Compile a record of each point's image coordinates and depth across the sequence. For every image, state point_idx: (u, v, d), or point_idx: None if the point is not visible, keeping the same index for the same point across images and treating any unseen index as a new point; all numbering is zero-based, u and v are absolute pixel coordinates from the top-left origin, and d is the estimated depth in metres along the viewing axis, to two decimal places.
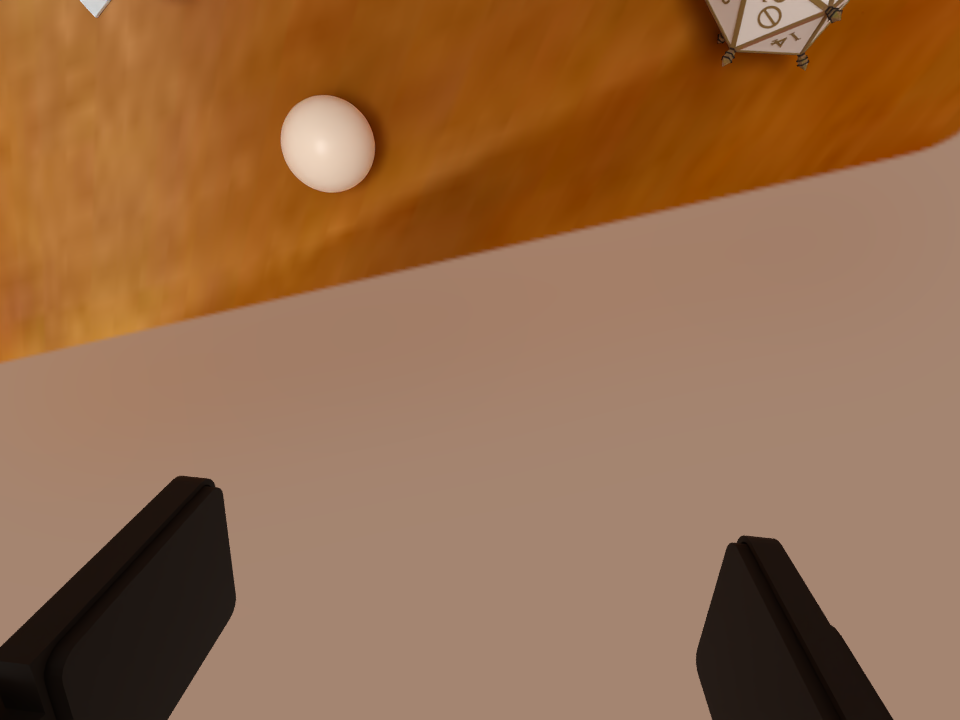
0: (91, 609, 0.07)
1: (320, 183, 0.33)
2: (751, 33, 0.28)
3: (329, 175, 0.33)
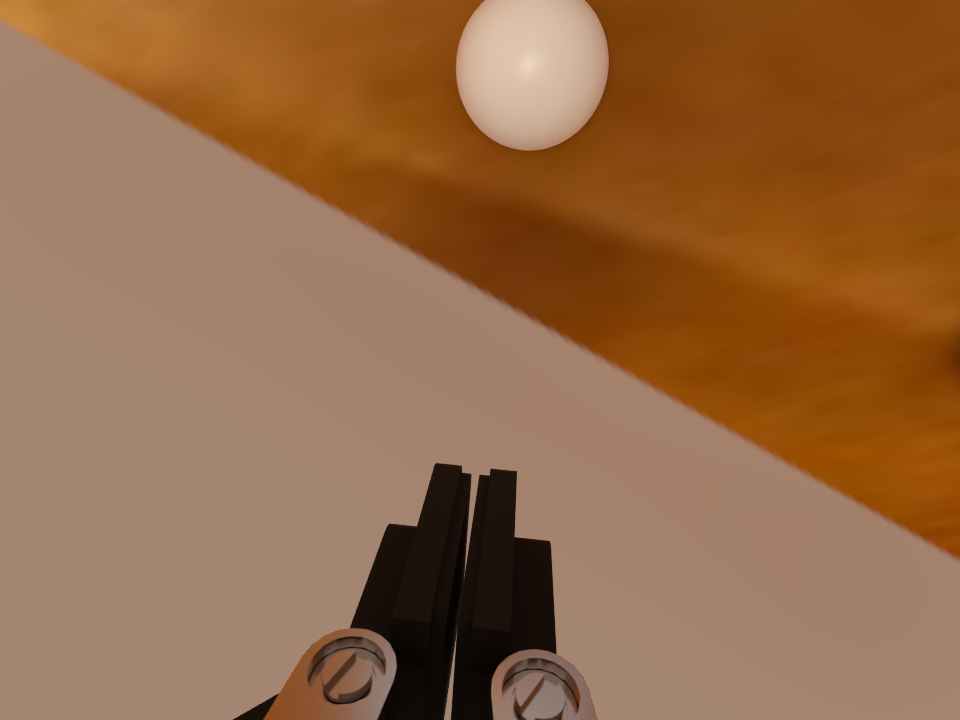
0: (441, 577, 0.08)
1: (487, 111, 0.19)
2: None
3: (511, 115, 0.19)
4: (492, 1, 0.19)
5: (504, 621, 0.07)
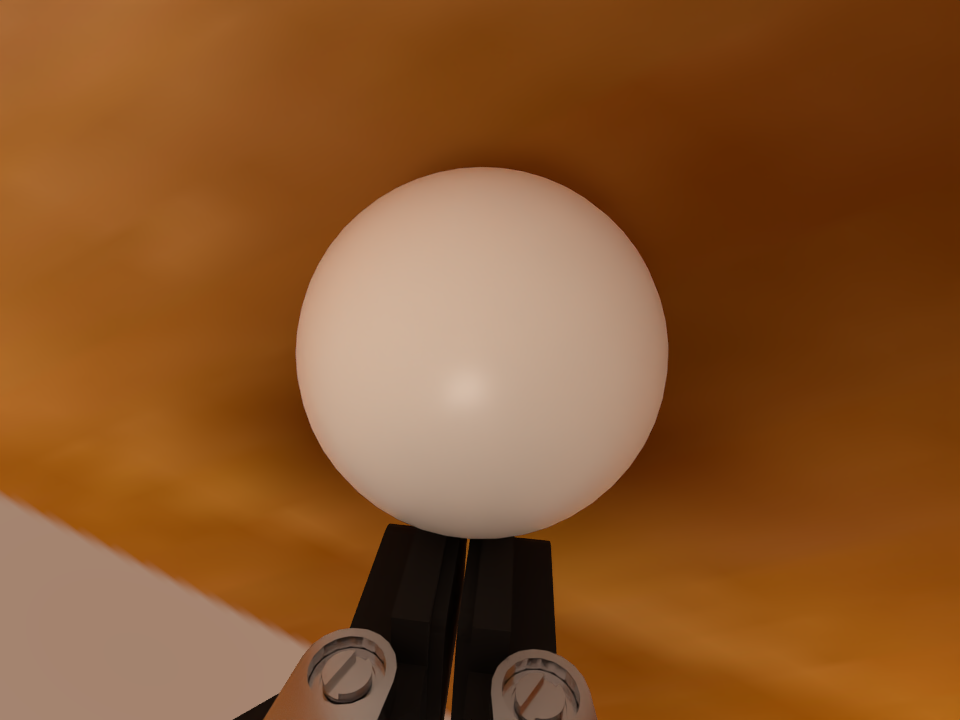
0: (441, 577, 0.08)
1: (337, 420, 0.07)
2: None
3: (397, 435, 0.06)
4: None
5: (504, 621, 0.07)
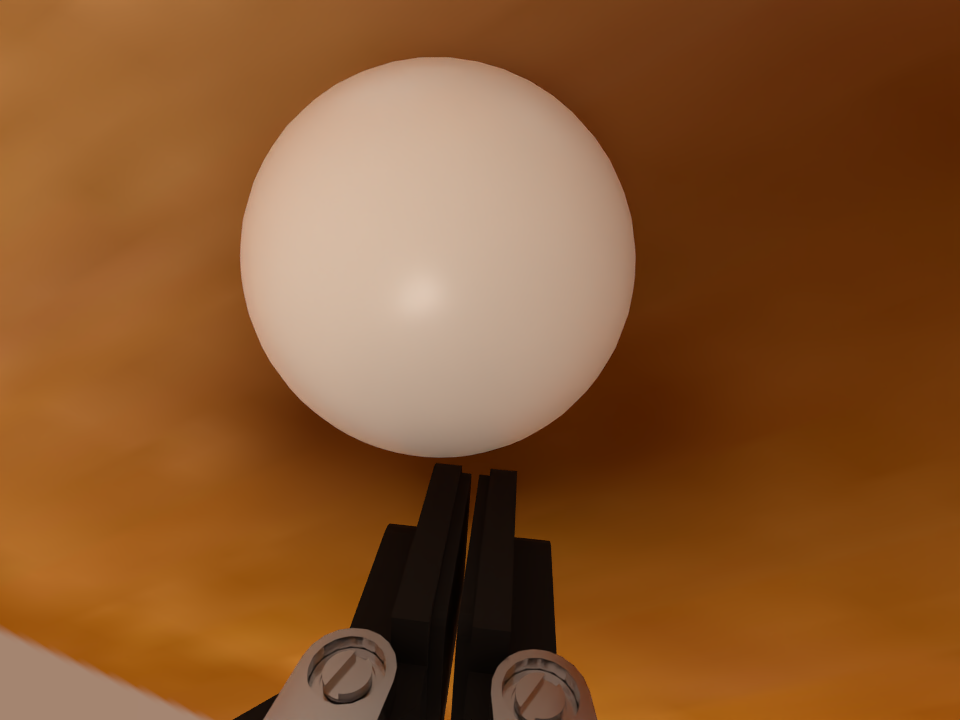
0: (441, 577, 0.08)
1: None
2: None
3: None
4: None
5: (504, 621, 0.07)
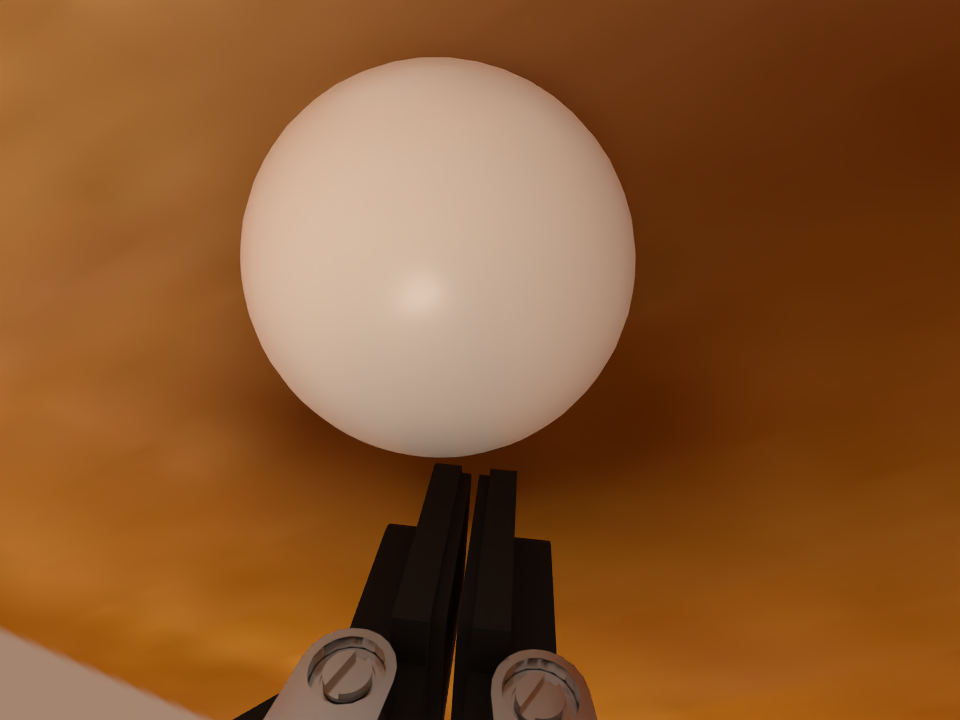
0: (441, 577, 0.08)
1: None
2: None
3: None
4: None
5: (504, 621, 0.07)
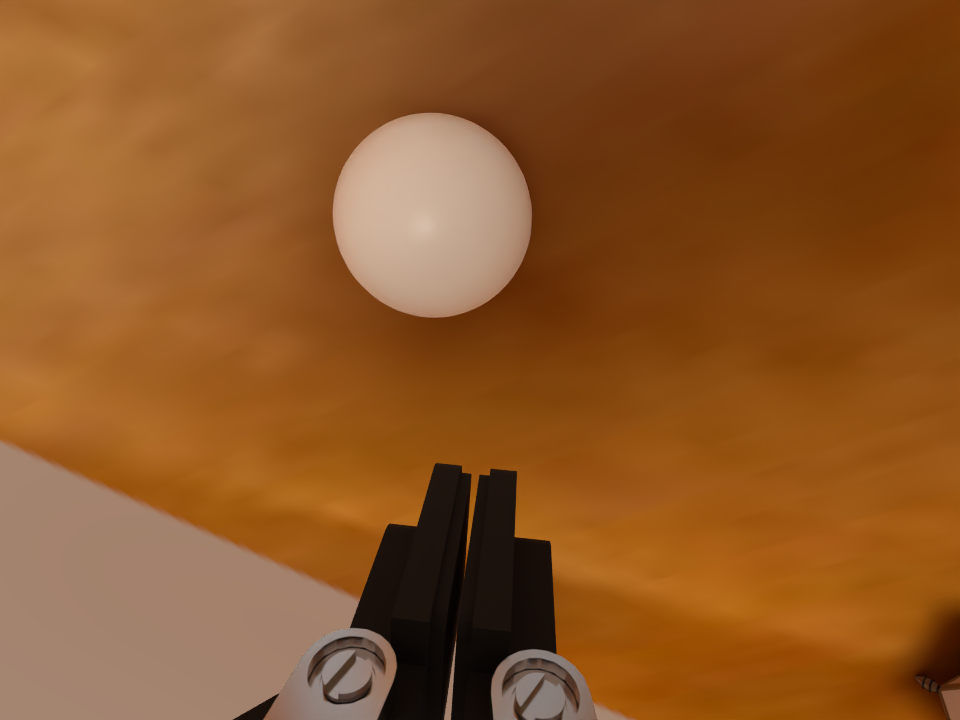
0: (441, 577, 0.08)
1: None
2: None
3: None
4: None
5: (503, 621, 0.07)
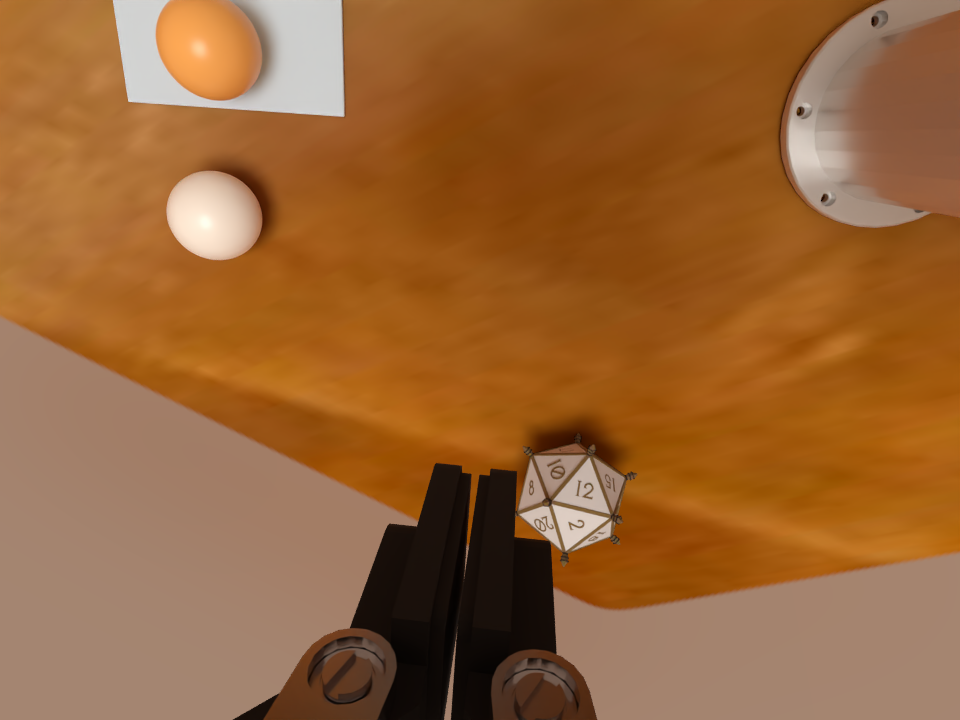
0: (441, 577, 0.08)
1: None
2: (529, 519, 0.39)
3: None
4: None
5: (504, 622, 0.07)
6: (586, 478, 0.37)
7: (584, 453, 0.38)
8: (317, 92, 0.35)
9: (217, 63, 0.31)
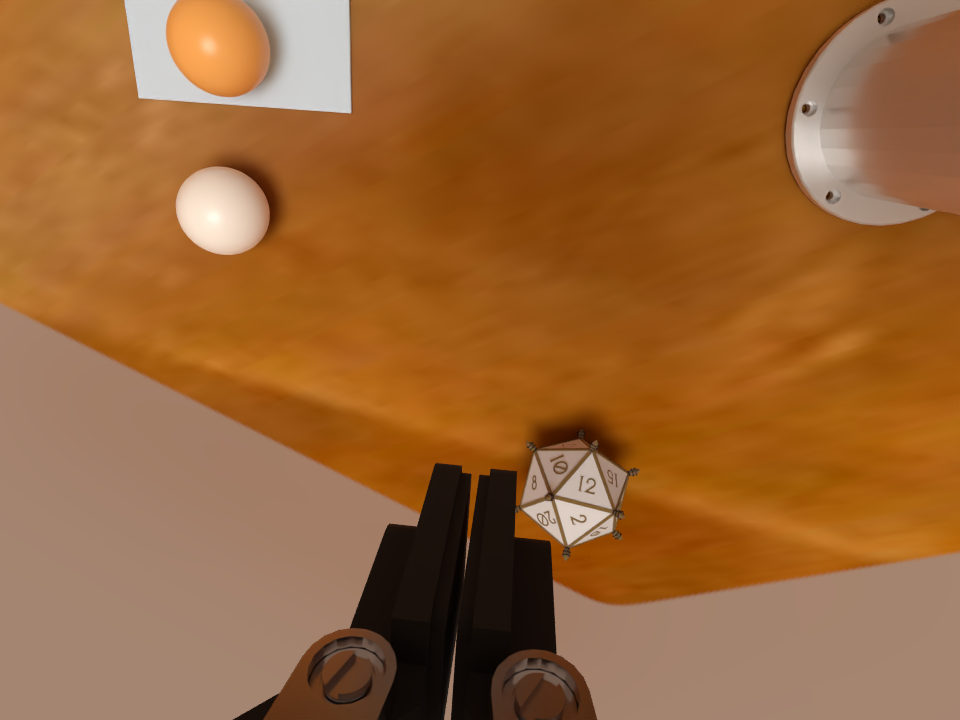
0: (441, 577, 0.08)
1: None
2: (531, 514, 0.40)
3: None
4: None
5: (504, 621, 0.07)
6: (588, 473, 0.38)
7: (587, 448, 0.38)
8: (325, 89, 0.36)
9: (226, 60, 0.31)
